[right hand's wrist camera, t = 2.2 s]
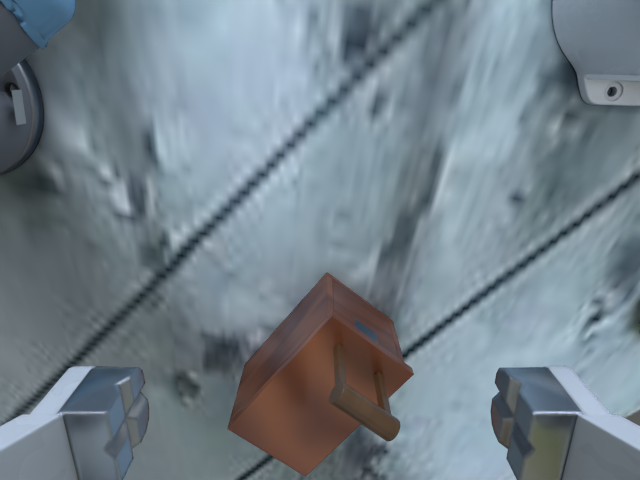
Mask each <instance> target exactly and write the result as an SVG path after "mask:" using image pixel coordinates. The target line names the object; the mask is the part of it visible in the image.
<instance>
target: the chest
mask: <svg viewBox="0 0 640 480" xmlns="http://www.w3.org/2000/svg"><path fill="white" fill-rule="evenodd" d="M332 311H333V312H335V313H336V314H338V315H339V316H340V317H342V318H343V319H345V320H346V321H347V322H349V323H350V324H351V325H353V326H354V327H356V328H357V329H358V330H360V331H361V332H363V333H364V334H365V335H367V336H368V337H369V338H371V339H372V340H374V341H375V342H376V343H378V344H379V345H381V346H382V347H383V348H385V349H386V350H388V351H389V352H390V353H392V354H393V355H394V356H396V357H397V358H399V359H400V360H401V361H403V362H404V360H403V356H402V352H401V349H400V345H399V342H398V338H397V334H396V331H395V327H394V324H393V321H392V320H390V319H389V318H388V317H386V316H385V315H384V314H382V313H381V312H380V311H378V310H377V309H376V308H374V307H373V306H372V305H370V304H369V303H367V302H366V301H365V300H363V299H362V298H361V297H359V296H358V295H357V294H355V293H354V292H353V291H351V290H350V289H349V288H347V287H346V286H345V285H343V284H342V283H341V282H339V281H338V280H336V279H335V278H334V277H332V276H331V275H330V274H328V273H326V274H325V275H324V276H323V278H322V279H321V280H320V281H319V282H318V283H317V284H316V285H315V286H314V288H313V289H312V290H311V291H310V292H309V293H308V294H307V295H306V297H305V298H304V299H303V300H302V301H301V302H300V303H299V304H298V306H297V307H296V308H295V309H294V310H293V311H292V312H291V313H290V315H289V316H288V317H287V318H286V319H285V320H284V321H283V322H282V323H281V325H280V326H279V327H278V328H277V329H276V330H275V331H274V332H273V334H272V335H271V336H270V337H269V338H268V339H267V340H266V341H265V343H264V344H263V345H262V346H261V347H260V348H259V349H258V350H257V352H256V353H255V354H254V355H253V356H252V357H251V358H250V359H249V360H248V362H247V363H246V364H245V366H244V369H243V373H242V377H241V381H240V384H239V388H238V392H237V396H236V399H235V403H234V407H233V410H232V414H231V418H230V421H231V420H232V419H233V417H234V416H235V415H236V414H237V413H238V412H239V411H240V410H241V409H242V408H243V407H244V406H245V405H246V403H247V402H248V401H249V400H250V399H251V398H252V397H253V396H254V395H255V394H256V393H257V392H258V390H259V389H260V388H261V387H262V386H263V385H264V384H265V383H266V382H267V381H268V380H269V379H270V378H271V376H272V375H273V374H274V373H275V372H276V371H277V370H278V369H279V368H280V367H281V366H282V365H283V364H284V362H285V361H286V360H287V359H288V358H289V357H290V356H291V355H292V354H293V353H294V352H295V351H296V349H297V348H298V347H299V346H300V345H301V344H302V343H303V342H304V341H305V340H306V339H307V338H308V337H309V335H310V334H311V333H312V332H313V331H314V330H315V329H316V328H317V327H318V326H319V325H320V324H321V323H322V321H323V320H324V319H325V318H326V317H327V316H328V315H329V314H330V313H331V312H332Z"/></svg>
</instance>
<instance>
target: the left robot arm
mask: <svg viewBox="0 0 640 480" xmlns="http://www.w3.org/2000/svg"><path fill="white" fill-rule="evenodd" d="M74 12H75V0H0V175H2V174H5V173H7V172H10V171H12V170H14V169H15V168H17V167H18V166H20V165H21V164H23V163H24V162H25V161H26V160H27V159H28V158H29V156H30V155H31V154H32V152H33V151H34V149H35V148H36V146H37V144H38V141H39V139H40V136H41V132H42V127H43V103H42V97H41V93H40V89H39V86H38V83H37V80H36V78H35V76H34V74H33V71H32V70H31V68H30V66H29V64H28V63H27V61H26V60H25V58H26V57H28V56H29V55H30V54H31V53H33V52H34V51H35V50H37V49H38V48H39V47H40V48H41V49H42V50H43V48H45V47H47V45H48V40H49V39H50V38H51V37H52V36H54V35H55V34H56V33H57V32H58V31H59V30H60V29H61V28H63V27H64V26H65V25H66V24H67V23H68V22H69V21H70V20H71V19H72V17H73V14H74Z"/></svg>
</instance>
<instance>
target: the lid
mask: <svg viewBox="0 0 640 480" xmlns="http://www.w3.org/2000/svg"><path fill="white" fill-rule="evenodd" d="M413 374H414V373H413V370H412V368H411V367H410V366H408V365H407V364H406V363H404V362H403V361H401V360H400V359H399V358H397V357H396V356H394V355H393V354H392V353H390V352H389V351H388V350H386V349H385V348H383V347H382V346H381V345H379V344H378V343H376V342H375V341H374V340H372V339H371V338H369V337H368V336H367V335H365V334H364V333H363V332H361V331H360V330H358V329H357V328H356V327H354V326H353V325H351V324H350V323H349V322H347V321H346V320H345V319H343V318H342V317H340V316H339V315H338V314H336V313H335V312H333V311H332V312H331V313H330V314H329V315H328V316H327V317H326V318H325V319H324V320H323V321H322V323H321V324H320V325H319V326H318V327H317V328H316V329H315V330H314V331H313V332H312V333H311V334H310V335H309V337H308V338H307V339H306V340H305V341H304V342H303V343H302V344H301V345H300V346H299V347H298V348H297V349H296V351H295V352H294V353H293V354H292V355H291V356H290V357H289V358H288V359H287V360H286V361H285V362H284V364H283V365H282V366H281V367H280V368H279V369H278V370H277V371H276V372H275V373H274V374H273V375H272V376H271V378H270V379H269V380H268V381H267V382H266V383H265V384H264V385H263V386H262V387H261V388H260V389H259V390H258V392H257V393H256V394H255V395H254V396H253V397H252V398H251V399H250V400H249V401H248V402H247V403H246V405H245V406H244V407H243V408H242V409H241V410H240V411H239V412H238V413H237V414H236V415H235V416H234V417H233V419H232V420H231V421H230V422H229V425H228V429H229V430H230V431H232V432H234V433H235V434H237V435H238V436H240V437H242V438H243V439H245V440H247V441H248V442H250V443H252V444H253V445H255V446H256V447H258V448H260V449H261V450H263V451H265V452H266V453H268V454H270V455H271V456H273V457H274V458H276V459H278V460H279V461H281V462H283V463H284V464H286V465H288V466H289V467H291V468H293V469H294V470H296V471H297V472H299V473H301V474H302V475H304V476H307V475H308V474H309V473H310V472H311V471H312V470H313V469H314V468H315V467H316V466H317V465H318V464H319V463H320V462H321V461H322V460H323V459H325V458H326V457H327V456H328V455H329V454H330V453H331V452H332V451H333V450H334V449H335V448H336V447H337V446H338V445H339V444H340V443H341V442H343V441H344V440H345V439H346V438H347V437H348V436H349V435H350V434H351V433H352V432H353V431H354V430H355V429H356V428H357V427H358V426H359V425H361V424H362V425H363V426H365V427H366V428H368V429H369V430H371V431H372V432H374V433H375V434H377V435H378V436H380V437H381V438H383V439H384V440H386V441H391V440H393V439H394V438H395V437H396V436H397V434H398V432H399V430H400V421H399V420H398V419H397V418H395V417H394V416H393V415H391V411H390V406H389V401H388V398H389V397H390V396H391V395H392V394H393V393H394V392H395V391H397V390H398V389H399V388H400V387H401V386H402V385H403V384H404V383H405V382H406V381H407V380H408V379H409V378H410V377H411V376H412V375H413Z"/></svg>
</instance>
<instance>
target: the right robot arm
mask: <svg viewBox="0 0 640 480" xmlns="http://www.w3.org/2000/svg"><path fill="white" fill-rule="evenodd" d="M552 17H553V26H554V30H555V34H556V38H557V40H558V43H559V45H560V47H561V49H562V51H563V53H564V54H565V56H566V57H567V59H568V60H569V61H570V63H571V64H572V66H573V67H574V69H575V71H576V73H577V79H578V85H579V90H580V94H581V97H582V99H583V101H584V102H585V103H587V104H589V105H607V106H639V107H640V0H553V3H552ZM610 87H611V88H612V93H611V94H610V95H609V96H608V94H607V91H608V89H609V88H610ZM144 384H145V379H144V375H143V370H141V369H140V368H139V367H105V366H96V367H94V366H74V367H72V368H69V369H68V370H67V371H66V372H65V374H64V375H63V376H62V377H61V378H60V379H59V381H58V382H57V383H56V384H55V385H54V386H53V388H52V389H51V390H50V391H49V392H48V393H47V395H46V396H45V397H44V398H43V399H42V400H41V402H40V403H39V404H38V405H37V406H36V407H35V409H34V410H33V411H32V412H31V413H30V414H29V415H21V416H19V417H17V418H15V419H13V420H11V421H9V422H7V423H6V424H4V425H2V426H0V480H123V479H124V477H125V475H126V473H127V471H128V469H129V467H130V464H131V462H132V460H133V453H132V449H133V448H134V447H135V446H137V445H138V444H139V443H141V442H142V440H143V437H144V435H145V433H146V430H147V425H148V421H149V404H148V399H147V398H146V397H145V396H144V395H143V394H142V393H141V392H140V391H141V389H142V388H143V386H144ZM495 384H496V386H497V388H498V389H499V391H500V392H499V393H498V394H497V395H496V396H495V397H494V398H493V399H492V405H491V420H492V426H493V430H494V433H495V435H496V437H497V440H498V442H499V443H501V444H502V445H503V446H505V447H506V448H507V449H508V453H507V460H508V462H509V464H510V466H511V469H512V471H513V473H514V475H515V477H516V479H517V480H640V426H638V425H636V424H634V423H633V422H631V421H629V420H627V419H625V418H623V417H621V416H619V415H610V413H609V412H608V411H607V410H606V409H605V408H604V406H603V405H602V404H601V403H600V402H599V400H598V399H597V398H596V397H595V396H594V395H593V393H592V392H591V391H590V390H589V389H588V388H587V386H586V385H585V384H584V383H583V382H582V381H581V379H580V378H579V377H578V376H577V375H576V374H575V372H574V371H573V370H572V369H571V368H569V367H567V366H549V367H523V368H499V369H498V371H497V373H496V379H495Z"/></svg>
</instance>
